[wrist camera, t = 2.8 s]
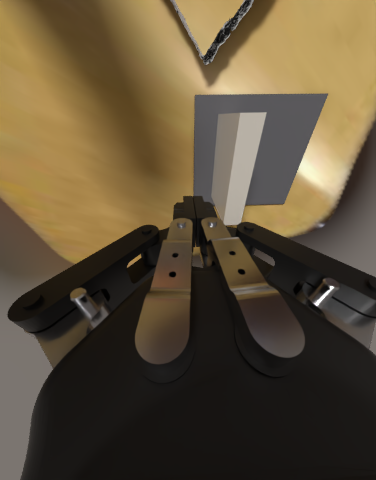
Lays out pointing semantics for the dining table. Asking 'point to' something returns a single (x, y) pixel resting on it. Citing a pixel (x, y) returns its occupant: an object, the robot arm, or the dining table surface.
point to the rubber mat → (271, 143)
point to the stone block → (235, 162)
